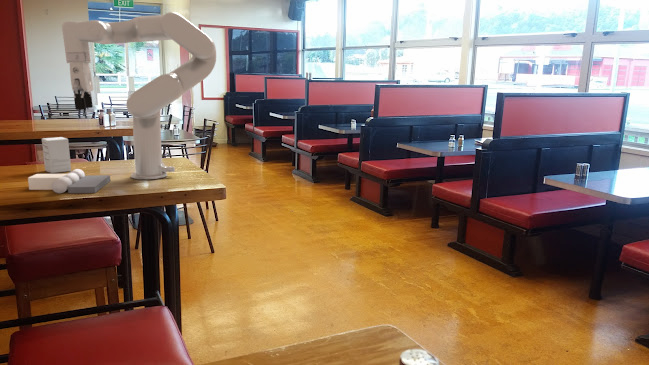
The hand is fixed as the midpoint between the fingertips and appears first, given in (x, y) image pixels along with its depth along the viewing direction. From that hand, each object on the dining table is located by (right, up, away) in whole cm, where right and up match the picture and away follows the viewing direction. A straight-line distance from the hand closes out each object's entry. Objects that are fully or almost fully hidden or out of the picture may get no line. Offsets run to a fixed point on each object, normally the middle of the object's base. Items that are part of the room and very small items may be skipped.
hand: (84, 108), depth 174 cm
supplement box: (-18, -22, +15) cm, 32 cm away
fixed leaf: (+4, -28, -9) cm, 29 cm away
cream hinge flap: (-5, -28, -10) cm, 30 cm away
